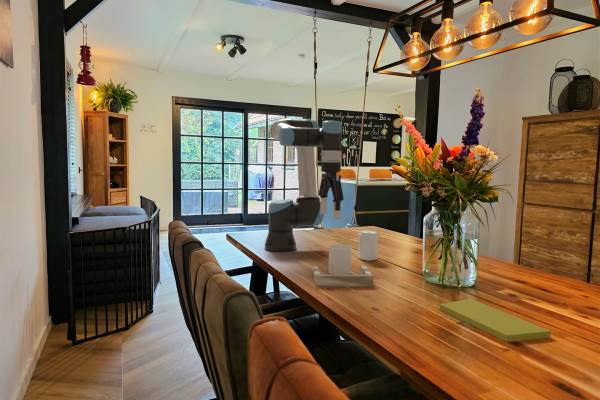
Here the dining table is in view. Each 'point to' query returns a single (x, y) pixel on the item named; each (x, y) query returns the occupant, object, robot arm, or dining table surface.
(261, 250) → the dining table surface
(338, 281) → the dock
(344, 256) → the mug
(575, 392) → the dining table surface
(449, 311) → the flat olive board
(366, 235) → the beverage can
